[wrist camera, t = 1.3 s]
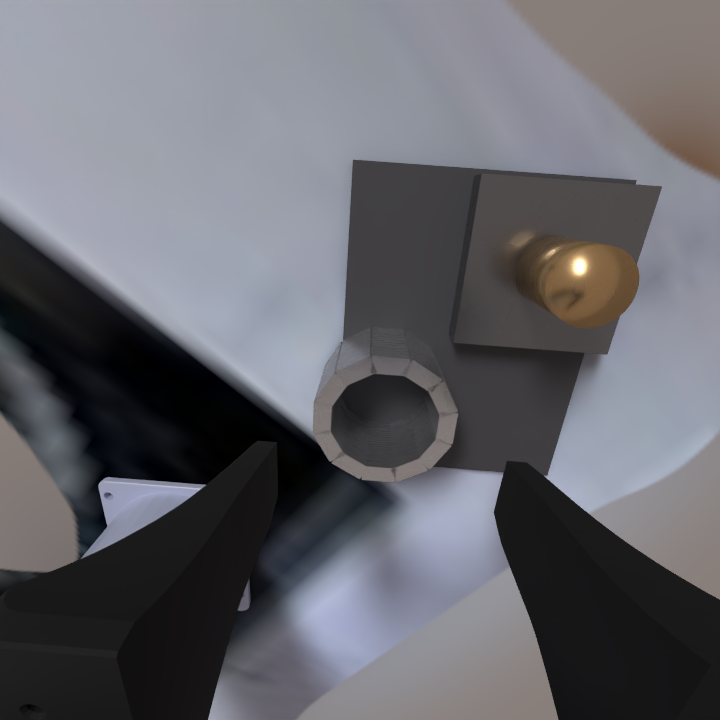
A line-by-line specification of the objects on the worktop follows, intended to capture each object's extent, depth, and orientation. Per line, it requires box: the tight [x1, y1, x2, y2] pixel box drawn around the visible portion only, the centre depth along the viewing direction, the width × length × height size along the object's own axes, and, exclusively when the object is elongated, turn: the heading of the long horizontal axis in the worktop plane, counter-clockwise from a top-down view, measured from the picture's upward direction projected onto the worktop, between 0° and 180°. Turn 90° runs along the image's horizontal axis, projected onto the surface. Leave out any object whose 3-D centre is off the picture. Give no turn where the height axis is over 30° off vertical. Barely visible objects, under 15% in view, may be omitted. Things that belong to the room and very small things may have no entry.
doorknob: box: [449, 174, 662, 354], centre depth 14 cm, size 6×6×5 cm
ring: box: [313, 327, 458, 482], centre depth 17 cm, size 6×6×4 cm
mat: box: [341, 160, 637, 475], centre depth 18 cm, size 14×11×1 cm
